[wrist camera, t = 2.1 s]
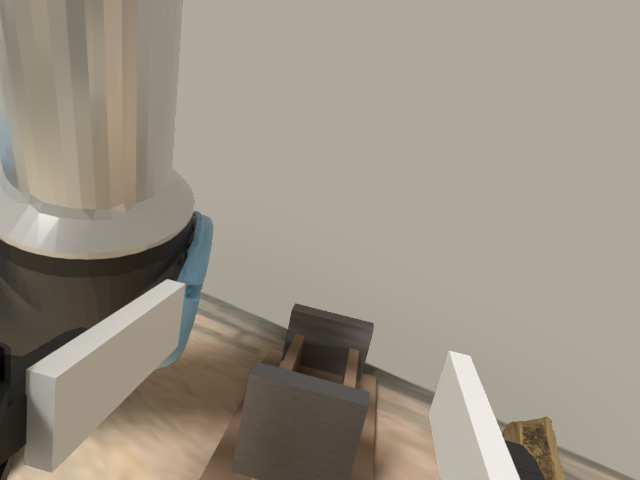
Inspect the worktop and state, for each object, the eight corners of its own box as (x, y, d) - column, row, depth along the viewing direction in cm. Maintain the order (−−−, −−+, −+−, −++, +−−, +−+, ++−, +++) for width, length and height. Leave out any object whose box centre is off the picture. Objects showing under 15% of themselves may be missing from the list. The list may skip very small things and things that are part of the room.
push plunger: (329, 549, 29) (368, 406, 26) (223, 517, 30) (249, 373, 27) (341, 462, 37) (372, 344, 34) (256, 438, 38) (279, 320, 35)
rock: (481, 417, 47) (454, 449, 39) (552, 387, 44) (538, 415, 35) (541, 518, 44) (525, 577, 35) (625, 495, 40) (628, 555, 31)
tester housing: (365, 576, 30) (394, 482, 28) (184, 519, 31) (197, 425, 29) (373, 386, 53) (389, 327, 51) (268, 358, 54) (280, 299, 52)
